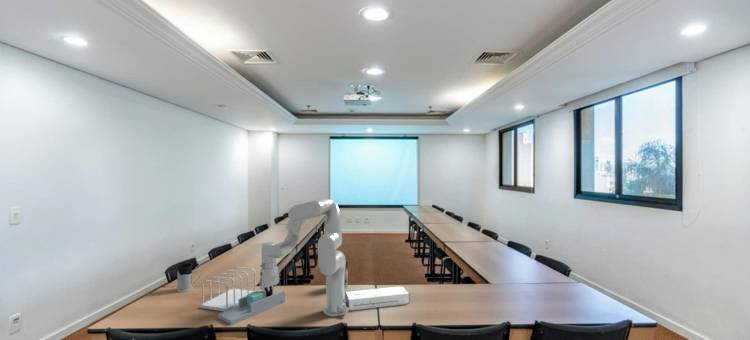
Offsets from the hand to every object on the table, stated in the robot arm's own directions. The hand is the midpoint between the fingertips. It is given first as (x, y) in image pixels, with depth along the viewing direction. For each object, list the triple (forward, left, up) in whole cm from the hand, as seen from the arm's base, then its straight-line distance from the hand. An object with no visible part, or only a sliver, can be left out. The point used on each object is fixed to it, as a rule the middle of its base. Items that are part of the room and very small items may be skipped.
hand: (269, 297), depth 183 cm
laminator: (-48, -36, -4) cm, 60 cm away
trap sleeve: (0, +10, -3) cm, 10 cm away
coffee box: (-17, -39, -3) cm, 43 cm away
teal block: (0, +9, -1) cm, 9 cm away
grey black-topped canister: (+58, +16, -3) cm, 60 cm away
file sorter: (+21, +11, -4) cm, 24 cm away
